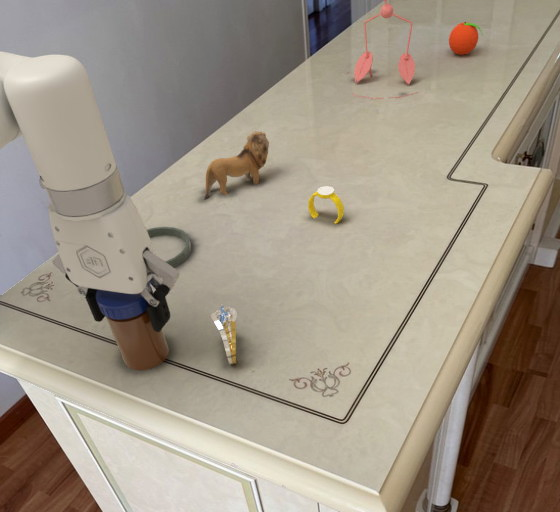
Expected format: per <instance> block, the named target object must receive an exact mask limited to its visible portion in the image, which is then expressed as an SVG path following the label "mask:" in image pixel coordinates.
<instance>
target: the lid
mask: <svg viewBox="0 0 560 512" xmlns="http://www.w3.org/2000/svg"><path fill="white" fill-rule="evenodd" d="M146 286H147V287H148V288H149V289H150V290H151V291H152V292H153V293H154V291H153V288H152V285H151V284H150V283H149V282H148V283H147V285H146ZM96 299H97V303H98V306H99V308H100V311H101V312H102V313H103V314H104V316H105V318H106V317H108V318H111V319H128V318H132V317H135V316H137V315H139V314H141V313H143V312H144V311H146V310H147V309H146V306H147V305H148V302H147V301H146V300H145V299H144V297H143V296H142V295H141V294H140V293H138V294H127V293H119V292H112V291H106V290H99V289H98V290H97V292H96Z"/></svg>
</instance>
